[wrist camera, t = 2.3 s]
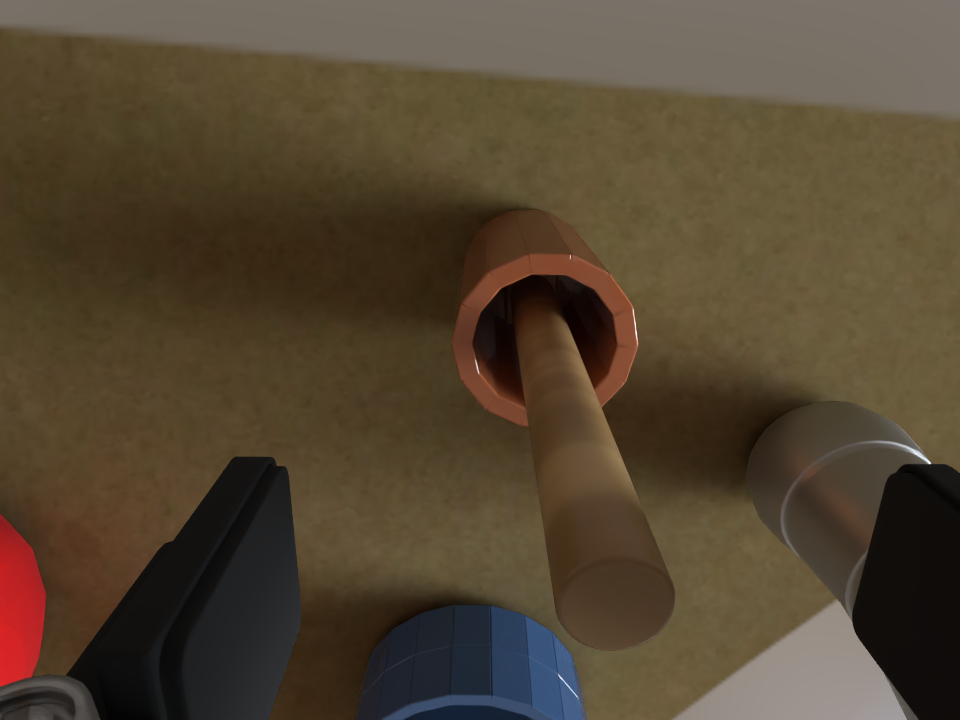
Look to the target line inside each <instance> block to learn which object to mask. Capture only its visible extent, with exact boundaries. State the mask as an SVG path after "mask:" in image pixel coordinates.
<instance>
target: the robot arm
mask: <svg viewBox="0 0 960 720" xmlns="http://www.w3.org/2000/svg"><path fill="white" fill-rule="evenodd" d="M300 622H301V599H300V589H299V578H298V568H297V557H296V547H295V537H294V526H293V516H292V505H291V495H290V485H289V475H288V471H287V468H286V467H285V466H277V465H276V462H275V459H274V458H273V457H234V458H233V459H232V460H231V461H230V463H229V464H228V465H227V467H226V468H225V470H224V471H223V472H222V474H221V475H220V476H219V478H218V479H217V481H216V482H215V483H214V485H213V486H212V488H211V489H210V490H209V492H208V493H207V495H206V496H205V497H204V499H203V500H202V502H201V503H200V504H199V506H198V507H197V508H196V510H195V511H194V513H193V514H192V515H191V517H190V518H189V520H188V521H187V522H186V524H185V525H184V527H183V528H182V529H181V531H180V532H179V534H178V535H177V536H176V538H175V539H174V540H173V541H171V542H168V543H165V544H164V545H163V546H162V547H161V548H160V549H159V550H158V551H157V553H156V554H155V555H154V557H153V558H152V560H151V561H150V562H149V564H148V565H147V566H146V568H145V569H144V570H143V572H142V573H141V574H140V576H139V577H138V579H137V580H136V581H135V583H134V584H133V585H132V587H131V588H130V589H129V591H128V592H127V593H126V595H125V596H124V598H123V599H122V600H121V602H120V603H119V604H118V606H117V607H116V608H115V610H114V611H113V612H112V614H111V615H110V616H109V618H108V619H107V621H106V622H105V623H104V625H103V626H102V627H101V629H100V630H99V631H98V633H97V634H96V635H95V637H94V638H93V640H92V641H91V642H90V644H89V645H88V646H87V648H86V649H85V650H84V652H83V653H82V654H81V656H80V657H79V658H78V660H77V661H76V663H75V664H74V665H73V667H72V668H71V669H70V671H69V672H68V673H67V675H66V676H61V675H42V676H36V677H29V678H24V679H21V680H18V681H15V682H13V683H10V684H7V685H4V686H1V687H0V720H268V719H269V716H270V713H271V710H272V707H273V705H274V702H275V699H276V696H277V693H278V690H279V687H280V684H281V681H282V679H283V676H284V673H285V670H286V667H287V664H288V661H289V658H290V655H291V653H292V650H293V647H294V644H295V641H296V638H297V635H298V632H299V628H300ZM852 622H853V627H854V630H855V633H856V635H857V636H858V638H859V639H860V641H861V642H862V643H863V645H864V646H865V648H866V649H867V650H868V652H869V653H870V654H871V656H872V657H873V659H874V660H875V661H876V662H877V664H878V665H879V667H880V668H881V669H882V671H883V672H884V673H885V675H886V676H887V678H888V679H889V680H890V682H891V683H892V684H893V686H894V687H895V688H896V690H897V691H898V692H899V694H900V695H901V697H902V698H903V699H904V701H905V702H906V703H907V705H908V706H909V707H910V709H911V710H912V711H913V713H914V714H915V716H916V717H917V718H918V720H960V473H959V472H957V471H956V470H955V469H953V468H952V467H950V466H948V465H946V464H905V465H902V466H901V467H900V468H899V469H898V470H897V472H896V473H893V474H891V475H890V476H889V477H888V478H887V481H886V483H885V487H884V491H883V495H882V499H881V503H880V507H879V510H878V514H877V518H876V522H875V526H874V530H873V534H872V537H871V541H870V545H869V549H868V553H867V557H866V561H865V564H864V568H863V572H862V576H861V580H860V584H859V588H858V592H857V595H856V599H855V603H854V607H853V611H852Z"/></svg>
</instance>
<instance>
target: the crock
mask: <svg viewBox="0 0 960 720" xmlns="http://www.w3.org/2000/svg"><path fill="white" fill-rule="evenodd" d="M530 275H558V276H557V293H556V297H557V300H558V302H559V305H560V307H561V310H562V312H563V314H564V317H565V319H566V322H567V324H568V327H569V329H570V332H571V334H572V337H573V339H574V342H575V344H576V346H577V349H578V351H579V354H580V356H581V359H582V361H583V364H584V366H585V369H586V371H587V374H588V376H589V379H590V381H591V383H592V386H593V388H594V391H595V393H596V396H597V398H598V401H599V403H600V406H601V407H602V406H603V405H604V404H605V403H606V402H607V401H608V400H609V399H610V398H611V397H612V396H613V395H614V394H615V393H616V392H617V391H618V390H619V389H620V388H621V387H622V386H623V385H624V382H626V380H627V377H628V374H629V371H630V369H631V366H632V363H633V360H634V357H635V354H636V351H637V348H638V337H637V330H636V323H635V315H634V308H633V306H632V304H631V302H630V301H629V299H628V298H627V297H626V295H625V294H624V292H623V291H622V290H621V288H620V287H619V285H618V284H617V283H616V281H615V280H614V279H613V277H612V276H611V274H610V273H609V272H608V271H607V269H606V268H605V267H604V266H603V264H602V263H601V262H600V261H599V259H598V258H597V257H596V256H595V254H594V253H593V252H592V251H591V249H590V248H589V247H588V246H587V244H586V243H585V242H584V241H583V239H582V238H581V237H580V236H579V234H578V233H577V232H576V231H575V229H574V228H573V227H572V226H571V225H570V224H568V223H566V222H565V221H563V220H562V219H560V218H559V217H557V216H555V215H553V214H550V213H547V212H545V211H540V210H533V209H520V210H514V211H510V212H507V213H504V214H501V215H499V216H497V217H495V218H494V219H492V220H491V221H489V222H488V223H486V224H485V225H484V226H483V227H482V228H481V229H480V230H479V231H478V232H477V233H476V235H475V236H474V238H473V239H472V240H471V242H470V244H469V246H468V248H467V250H466V254H465V257H464V262H463V266H462V271H461V275H460V283H459V290H458V297H457V305H456V312H455V319H454V327H453V334H452V349H453V353H454V357H455V361H456V365H457V369H458V374H459V378H460V380H461V381H462V383H463V384H464V385H465V387H466V388H467V389H468V390H469V391H470V392H471V394H472V395H473V396H474V397H475V398H476V400H477V401H478V402H479V403H480V404H481V405H482V407H483V408H485V409H486V410H487V411H489V412H491V413H493V414H496V415H498V416H500V417H502V418H504V419H506V420H509V421H511V422H513V423H515V424H517V425H521V426H528V419H527V412H526V406H525V399H524V392H523V385H522V379H521V372H520V365H519V358H518V352H517V345H516V338H515V331H514V325H513V324H508V323H506V319H505V310H504V287H505V286H507V285H510V284H512V283H514V282H516V281H519V280H521V279H523V278H525V277H527V276H530Z"/></svg>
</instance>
